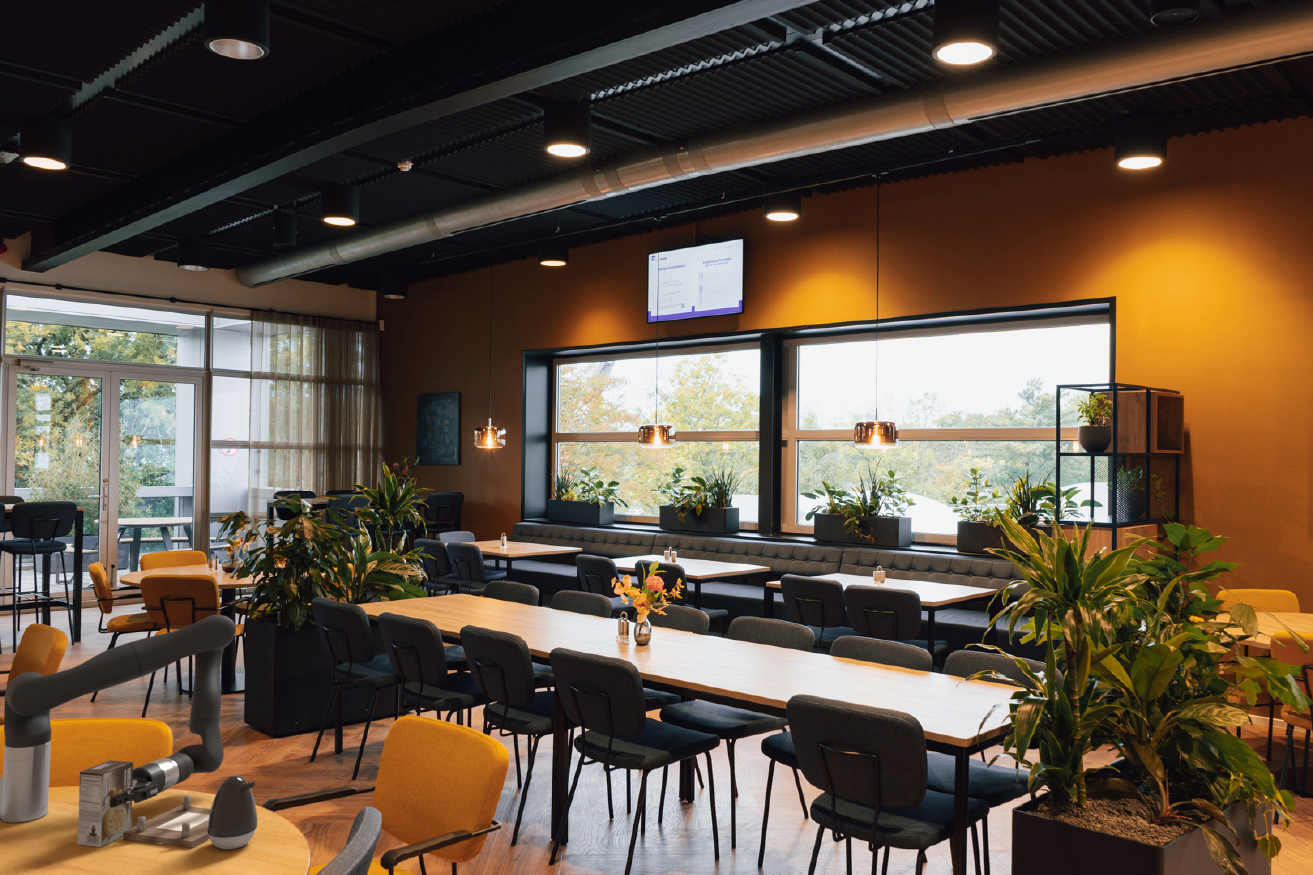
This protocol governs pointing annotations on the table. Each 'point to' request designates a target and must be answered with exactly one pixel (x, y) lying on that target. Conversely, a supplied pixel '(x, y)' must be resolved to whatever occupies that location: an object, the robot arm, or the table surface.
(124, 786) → the coffee box
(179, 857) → the table surface
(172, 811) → the peg stand
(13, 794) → the robot arm
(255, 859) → the table surface
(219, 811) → the pump dispenser
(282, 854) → the table surface
